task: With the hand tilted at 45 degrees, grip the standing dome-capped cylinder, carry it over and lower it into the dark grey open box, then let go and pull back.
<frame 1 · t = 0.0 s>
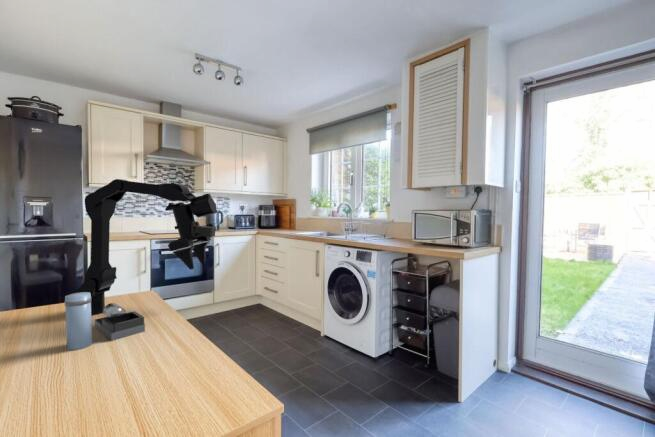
hand: (198, 266, 102), 15 cm above the counter, tool pointing down, fingers open, 9 cm apart
dark grey open box: (119, 328, 88), on the counter
dome-capped cylinder: (79, 345, 78), on the counter
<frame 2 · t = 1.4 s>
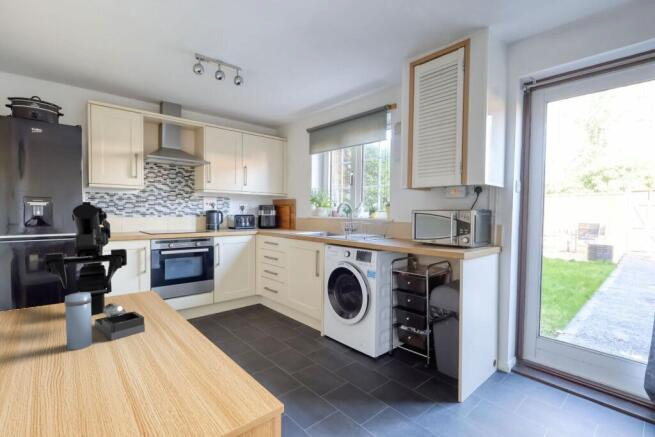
hand: (87, 285, 84), 13 cm above the counter, tool tilted 45°, fingers open, 9 cm apart
nothing on the counter moved.
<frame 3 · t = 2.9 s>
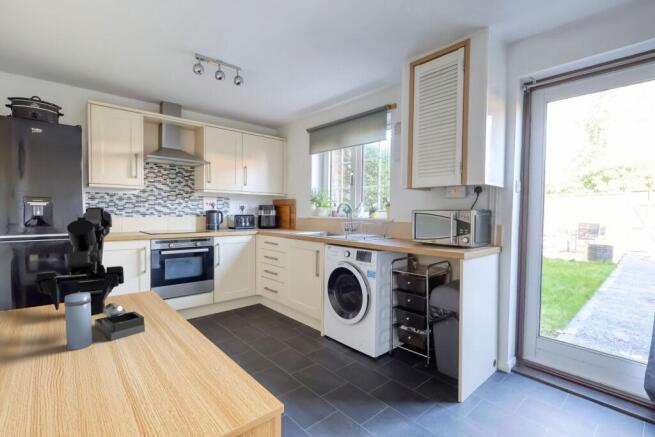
hand: (80, 306, 79), 10 cm above the counter, tool tilted 45°, fingers open, 9 cm apart
nothing on the counter moved.
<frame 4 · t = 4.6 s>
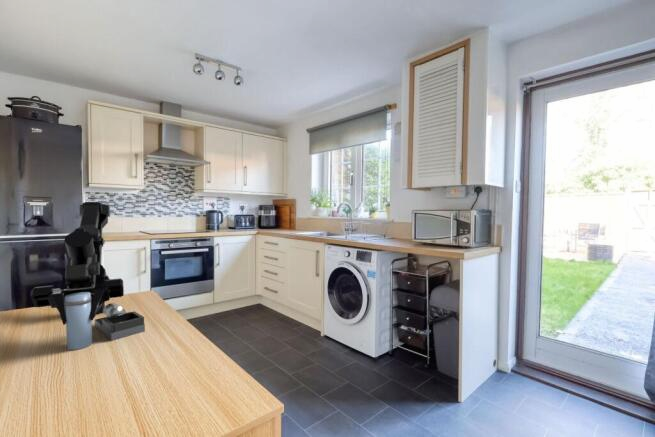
hand: (77, 321, 76), 7 cm above the counter, tool tilted 45°, fingers closed on dome-capped cylinder, 5 cm apart
dome-capped cylinder: (79, 345, 78), on the counter, touching gripper
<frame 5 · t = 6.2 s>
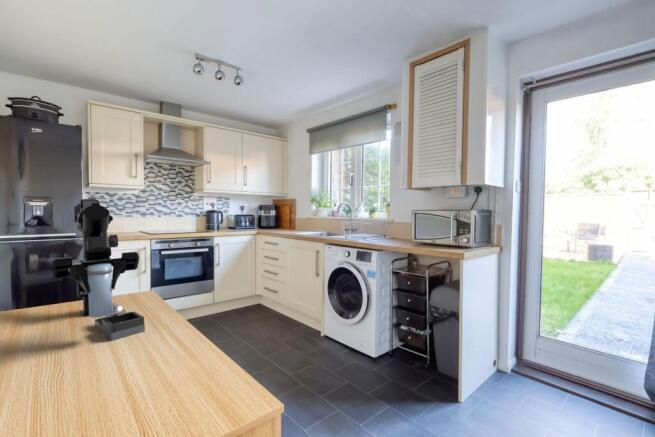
hand: (100, 290, 80), 13 cm above the counter, tool tilted 45°, fingers closed on dome-capped cylinder, 5 cm apart
dome-capped cylinder: (101, 314, 81), point 7 cm above the counter, touching gripper
when the fingers open (9 cm above the counter, at t = 7.9 s): dome-capped cylinder stays where it is, resting on dark grey open box.
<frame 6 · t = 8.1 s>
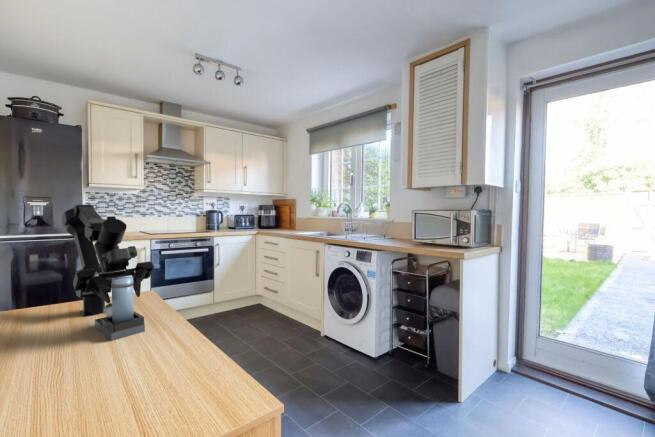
hand: (124, 299, 85), 10 cm above the counter, tool tilted 45°, fingers open, 7 cm apart
dome-capped cylinder: (123, 324, 86), point 2 cm above the counter, touching dark grey open box
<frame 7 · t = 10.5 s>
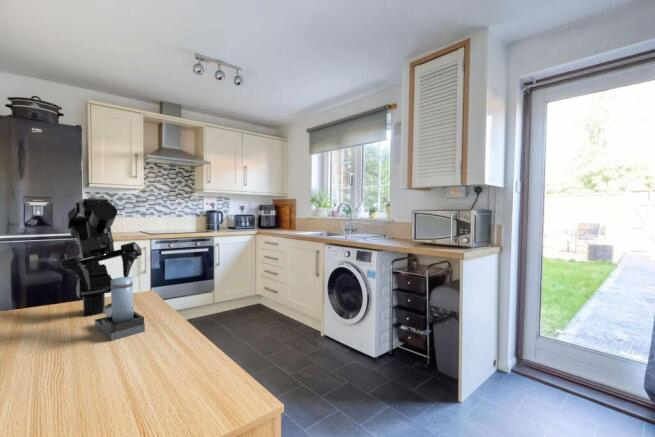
hand: (107, 284, 88), 13 cm above the counter, tool tilted 30°, fingers open, 9 cm apart
nothing on the counter moved.
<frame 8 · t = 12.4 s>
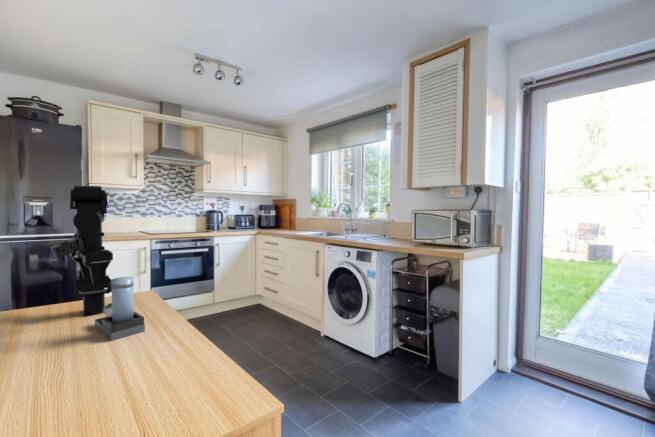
hand: (91, 282, 89), 13 cm above the counter, tool pointing down, fingers open, 9 cm apart
nothing on the counter moved.
at the end: dome-capped cylinder 0.1 cm from the target spot on the dark grey open box, point 2.0 cm above the dark grey open box's base; dome-capped cylinder tilted 0°; the gripper is holding nothing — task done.
